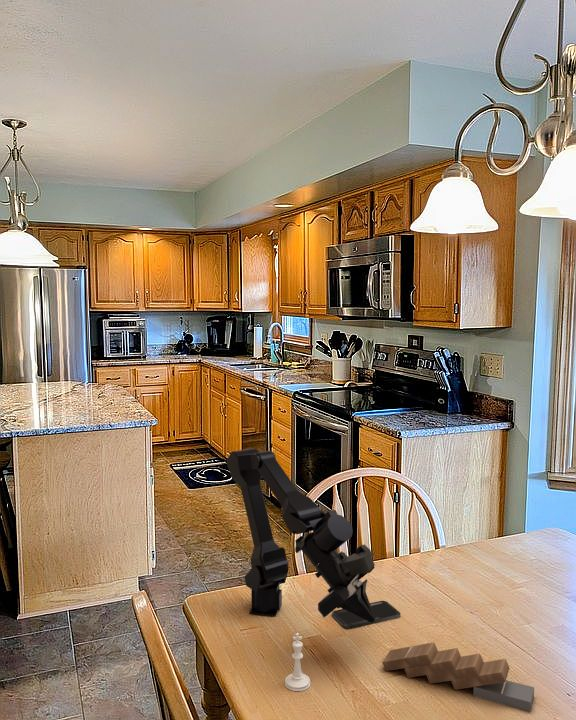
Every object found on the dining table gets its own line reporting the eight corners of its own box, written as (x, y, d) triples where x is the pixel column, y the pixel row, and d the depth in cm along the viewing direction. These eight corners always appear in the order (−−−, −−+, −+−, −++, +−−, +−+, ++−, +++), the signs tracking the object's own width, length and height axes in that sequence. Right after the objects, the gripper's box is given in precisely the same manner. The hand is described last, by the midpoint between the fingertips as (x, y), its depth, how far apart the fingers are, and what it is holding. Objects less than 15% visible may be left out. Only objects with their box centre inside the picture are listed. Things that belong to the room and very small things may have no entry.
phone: (330, 611, 146) (384, 599, 152) (330, 616, 146) (384, 604, 152) (345, 627, 139) (402, 614, 145) (345, 632, 139) (402, 619, 145)
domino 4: (450, 680, 117) (501, 672, 113) (456, 666, 122) (505, 658, 117) (454, 689, 117) (505, 682, 112) (460, 676, 121) (509, 668, 117)
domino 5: (473, 686, 115) (530, 702, 110) (478, 672, 120) (534, 687, 115) (473, 696, 115) (530, 712, 111) (478, 682, 120) (533, 696, 115)
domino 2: (404, 668, 121) (451, 660, 117) (411, 656, 126) (457, 647, 121) (408, 677, 121) (455, 670, 116) (415, 665, 125) (461, 657, 121)
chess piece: (284, 676, 121) (283, 627, 121) (308, 675, 122) (308, 626, 121) (286, 692, 117) (285, 641, 116) (311, 690, 117) (311, 640, 116)
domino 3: (426, 674, 119) (474, 666, 115) (432, 661, 124) (479, 653, 119) (429, 683, 119) (478, 676, 114) (436, 670, 123) (483, 662, 119)
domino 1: (382, 662, 123) (427, 654, 119) (390, 650, 128) (434, 642, 123) (385, 671, 123) (431, 663, 119) (393, 658, 128) (437, 651, 123)
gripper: (333, 553, 119) (386, 621, 115) (366, 523, 136) (414, 582, 132) (296, 584, 124) (346, 650, 120) (333, 551, 140) (378, 609, 136)
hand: (373, 621), depth 127 cm, fingers closed
